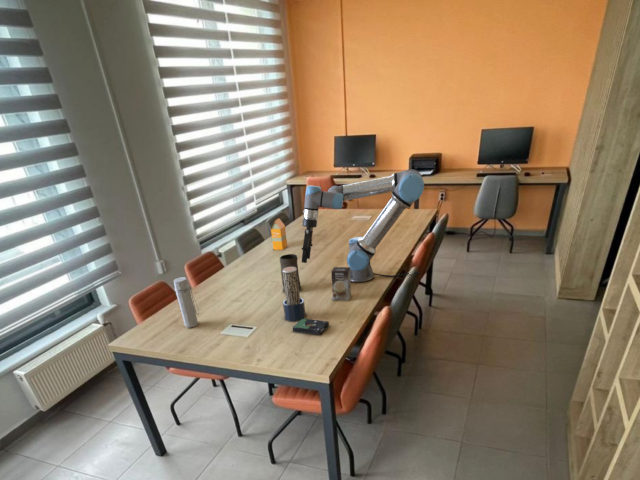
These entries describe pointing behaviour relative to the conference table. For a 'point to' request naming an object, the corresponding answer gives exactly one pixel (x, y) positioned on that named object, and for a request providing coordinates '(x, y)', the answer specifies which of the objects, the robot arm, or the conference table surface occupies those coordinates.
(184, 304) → the water bottle
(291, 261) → the beer stein
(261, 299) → the conference table surface
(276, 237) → the orange juice
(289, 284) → the paper tube
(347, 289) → the coffee box
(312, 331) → the disk drive
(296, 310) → the pen pot
